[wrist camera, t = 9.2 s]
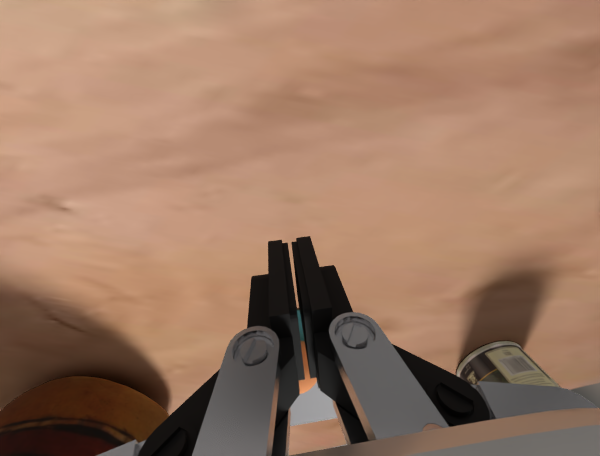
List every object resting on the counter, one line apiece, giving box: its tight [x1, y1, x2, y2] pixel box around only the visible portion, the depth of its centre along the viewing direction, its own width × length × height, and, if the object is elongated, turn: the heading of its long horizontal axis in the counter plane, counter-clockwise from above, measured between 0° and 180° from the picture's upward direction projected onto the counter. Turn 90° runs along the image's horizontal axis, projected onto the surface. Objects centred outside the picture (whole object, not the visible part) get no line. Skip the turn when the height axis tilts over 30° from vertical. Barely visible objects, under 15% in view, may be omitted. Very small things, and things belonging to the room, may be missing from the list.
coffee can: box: [456, 341, 561, 388], centre depth 33 cm, size 10×10×14 cm
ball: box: [299, 341, 317, 394], centre depth 30 cm, size 6×6×6 cm
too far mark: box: [290, 382, 337, 426], centre depth 38 cm, size 10×10×1 cm
